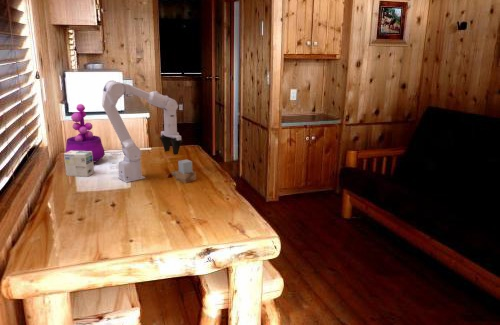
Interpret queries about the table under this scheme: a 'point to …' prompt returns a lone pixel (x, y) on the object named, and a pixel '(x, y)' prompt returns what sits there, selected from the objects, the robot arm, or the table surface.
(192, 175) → the walnut block
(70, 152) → the light bulb box
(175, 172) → the smooth gray stone
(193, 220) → the table surface
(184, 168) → the gray block
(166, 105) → the robot arm
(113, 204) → the table surface
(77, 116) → the decorative plant
